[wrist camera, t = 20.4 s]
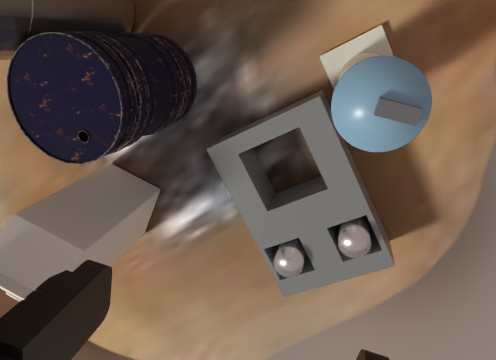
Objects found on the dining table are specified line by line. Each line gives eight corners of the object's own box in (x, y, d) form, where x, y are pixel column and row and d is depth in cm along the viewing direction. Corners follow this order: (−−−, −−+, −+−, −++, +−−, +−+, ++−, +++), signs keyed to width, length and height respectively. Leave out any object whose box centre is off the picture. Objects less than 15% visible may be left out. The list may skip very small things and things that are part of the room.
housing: (221, 137, 42) (206, 149, 38) (322, 89, 38) (319, 96, 33) (290, 271, 46) (284, 296, 41) (389, 241, 42) (395, 265, 37)
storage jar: (99, 59, 42) (-18, 69, 29) (169, 15, 39) (73, 2, 25) (143, 139, 45) (53, 183, 31) (213, 104, 41) (147, 136, 27)
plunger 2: (334, 212, 41) (333, 235, 36) (361, 202, 40) (363, 225, 35) (345, 235, 42) (345, 261, 37) (372, 226, 41) (375, 252, 36)
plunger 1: (277, 231, 44) (268, 256, 39) (301, 223, 43) (295, 248, 38) (288, 253, 44) (281, 280, 39) (312, 245, 43) (307, 272, 38)
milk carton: (111, 162, 47) (-29, 235, 29) (161, 188, 46) (51, 278, 29) (97, 208, 50) (-37, 299, 32) (145, 233, 49) (35, 339, 32)
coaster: (319, 56, 37) (319, 56, 36) (381, 24, 35) (381, 24, 34) (352, 130, 38) (352, 131, 38) (412, 104, 36) (413, 106, 36)
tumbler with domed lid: (328, 102, 38) (319, 140, 23) (346, 43, 35) (347, 45, 21) (385, 117, 37) (411, 166, 22) (407, 58, 35) (451, 70, 20)
